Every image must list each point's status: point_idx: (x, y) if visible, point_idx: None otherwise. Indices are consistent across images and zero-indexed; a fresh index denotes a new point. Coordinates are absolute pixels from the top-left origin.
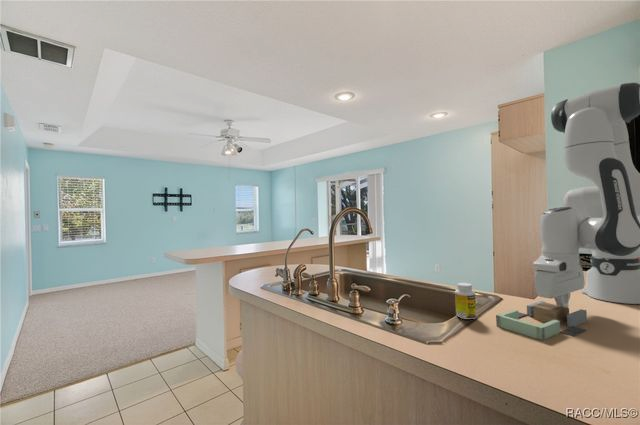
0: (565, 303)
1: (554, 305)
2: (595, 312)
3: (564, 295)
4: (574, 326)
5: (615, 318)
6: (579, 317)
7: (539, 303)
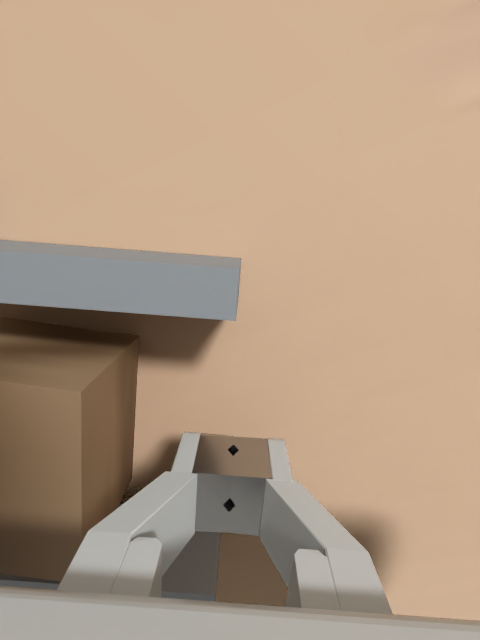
0: (221, 525)
1: (46, 487)
2: (473, 515)
3: (288, 597)
4: None
5: (403, 600)
6: None
7: (98, 306)
